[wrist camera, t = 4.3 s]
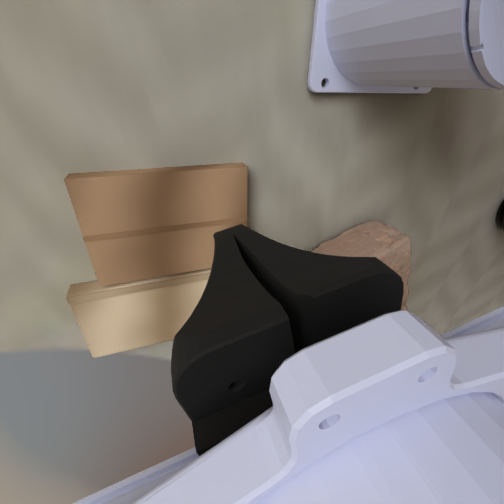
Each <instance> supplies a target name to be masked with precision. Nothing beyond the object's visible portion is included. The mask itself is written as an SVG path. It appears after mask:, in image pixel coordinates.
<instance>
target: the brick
mask: <svg viewBox="0 0 504 504" xmlns="http://www.w3.org/2000/svg"><path fill="white" fill-rule="evenodd" d="M311 252H314V253H319V254H326V255H334V256H346V257H376V258H378V259H379V260H381V261H382V262H383V263H385V264H386V265H387V266H389V267H390V268H391V269H392V270H394V271H395V272H396V273H397V274H398V275H400V276H401V278H402V281H403V283H404V292H403V299H402V305H401V310H406V311H408V309H407V306H406V305H405V303H406V300H407V299H406V298H407V295H408V285H407V284H406V283H407V279H408V275H409V273H410V257H411V242H410V239H409V237H407V236H406V235H405V234H400V233H399V232H398V231H397V229H396V228H393V227H391V226H388V225H387V224H384V223H382V222H381V221H371V222H367V223H364V224H360V225H358V226H356V227H353V228H351V229H349V230H347V231H345V232H343V233H342V234H341V235H340V236H337V237H335V238H333V239H332V240H328V241H326V242H323V243H322V244H321V245H320V246H319V247H318V248H316V249H314V250H312V251H311Z"/></svg>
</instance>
